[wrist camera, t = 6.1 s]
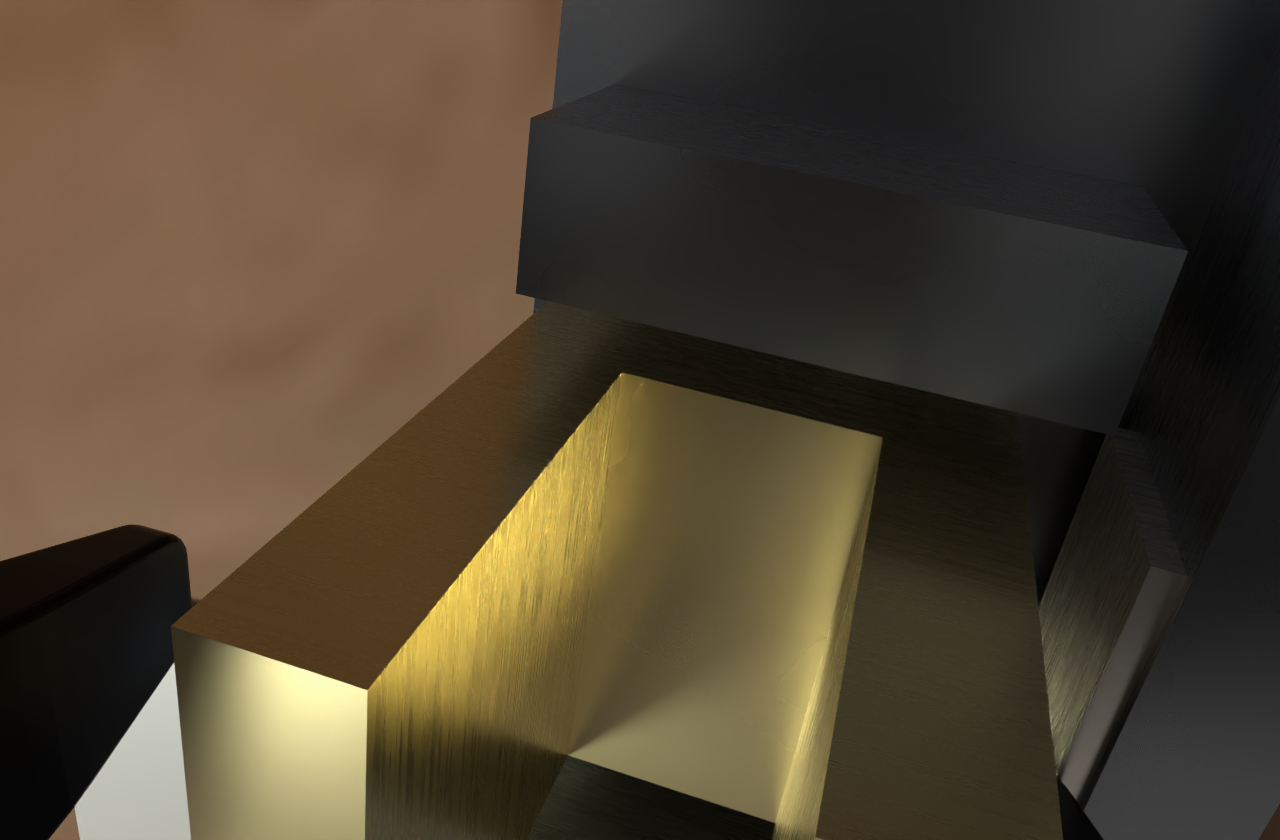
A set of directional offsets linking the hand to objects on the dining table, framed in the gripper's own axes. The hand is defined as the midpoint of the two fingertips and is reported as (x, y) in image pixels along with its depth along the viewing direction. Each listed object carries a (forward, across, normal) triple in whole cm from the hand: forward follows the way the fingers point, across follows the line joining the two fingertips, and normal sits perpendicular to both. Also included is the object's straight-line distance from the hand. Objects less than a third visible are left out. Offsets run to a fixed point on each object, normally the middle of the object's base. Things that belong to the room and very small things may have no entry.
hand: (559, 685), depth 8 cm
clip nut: (+2, -1, 0) cm, 3 cm away
